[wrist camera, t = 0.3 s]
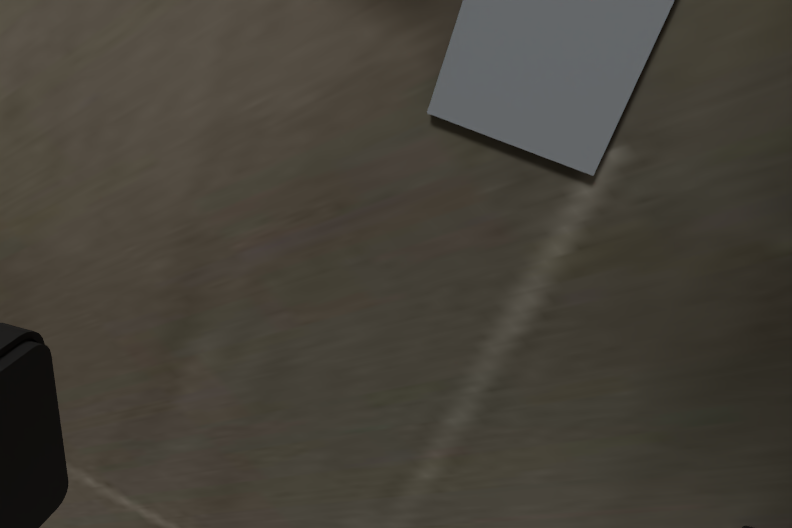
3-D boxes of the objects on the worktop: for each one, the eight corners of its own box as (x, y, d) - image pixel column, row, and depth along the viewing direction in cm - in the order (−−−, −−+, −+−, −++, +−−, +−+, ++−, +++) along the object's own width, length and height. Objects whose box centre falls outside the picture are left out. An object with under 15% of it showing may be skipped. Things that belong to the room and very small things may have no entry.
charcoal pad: (519, -168, 32) (517, -170, 31) (719, -103, 31) (722, -103, 30) (430, 109, 38) (426, 112, 37) (593, 171, 37) (593, 175, 36)
